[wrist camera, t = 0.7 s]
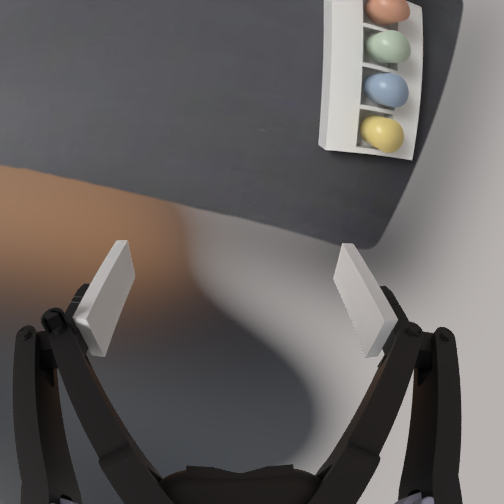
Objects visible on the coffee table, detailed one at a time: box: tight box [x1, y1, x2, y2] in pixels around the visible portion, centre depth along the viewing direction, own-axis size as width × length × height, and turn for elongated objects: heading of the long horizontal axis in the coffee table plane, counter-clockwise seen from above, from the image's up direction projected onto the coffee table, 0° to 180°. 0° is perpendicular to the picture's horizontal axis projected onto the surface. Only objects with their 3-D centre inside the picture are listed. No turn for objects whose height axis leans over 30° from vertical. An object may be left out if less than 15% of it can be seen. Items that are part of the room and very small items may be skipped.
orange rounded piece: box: [365, 0, 410, 26], centre depth 21 cm, size 4×4×4 cm
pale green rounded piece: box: [365, 30, 411, 64], centre depth 25 cm, size 4×4×4 cm
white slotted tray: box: [318, 0, 423, 160], centre depth 29 cm, size 25×14×4 cm, turn 179°
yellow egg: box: [360, 115, 404, 153], centre depth 31 cm, size 4×4×4 cm
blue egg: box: [363, 73, 409, 107], centre depth 28 cm, size 4×4×4 cm
